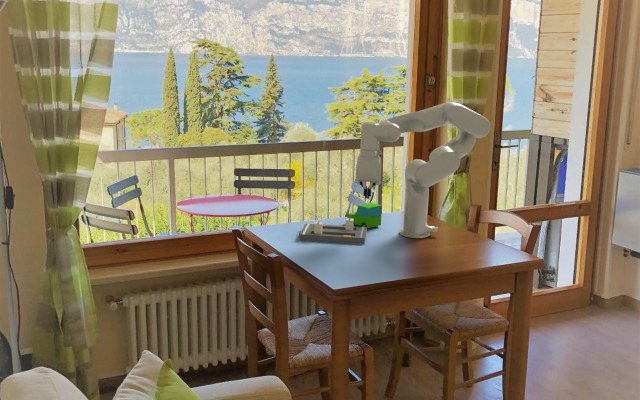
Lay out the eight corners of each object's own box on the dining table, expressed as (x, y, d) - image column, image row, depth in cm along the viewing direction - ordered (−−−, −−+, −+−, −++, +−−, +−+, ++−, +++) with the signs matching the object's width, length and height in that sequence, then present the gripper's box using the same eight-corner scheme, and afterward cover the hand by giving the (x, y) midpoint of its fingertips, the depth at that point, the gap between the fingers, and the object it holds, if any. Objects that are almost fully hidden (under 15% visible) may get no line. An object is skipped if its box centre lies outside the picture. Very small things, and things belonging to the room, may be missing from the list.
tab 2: (353, 230, 265) (353, 218, 264) (352, 232, 262) (353, 220, 261) (345, 230, 265) (346, 217, 264) (345, 232, 262) (345, 219, 261)
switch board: (366, 232, 267) (366, 226, 266) (364, 244, 252) (364, 237, 251) (305, 229, 270) (305, 223, 269) (299, 240, 255) (299, 233, 254)
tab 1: (322, 234, 259) (322, 221, 257) (321, 236, 256) (321, 223, 254) (314, 234, 259) (315, 221, 258) (313, 236, 256) (314, 223, 255)
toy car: (360, 220, 286) (361, 199, 284) (382, 227, 277) (383, 204, 274) (344, 224, 279) (345, 202, 277) (366, 231, 270) (367, 208, 268)
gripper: (388, 153, 258) (385, 197, 262) (351, 151, 260) (349, 194, 264) (387, 155, 251) (385, 201, 255) (350, 153, 252) (347, 198, 257)
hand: (367, 197), depth 259 cm, fingers closed
